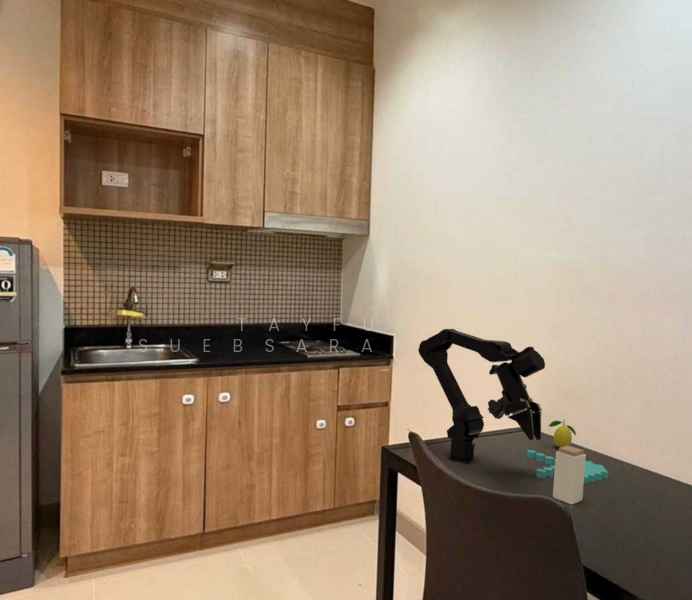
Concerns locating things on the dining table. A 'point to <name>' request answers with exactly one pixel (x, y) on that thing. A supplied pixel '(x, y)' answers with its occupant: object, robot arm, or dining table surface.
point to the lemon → (562, 434)
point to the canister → (569, 474)
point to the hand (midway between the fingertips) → (535, 439)
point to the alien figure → (590, 473)
